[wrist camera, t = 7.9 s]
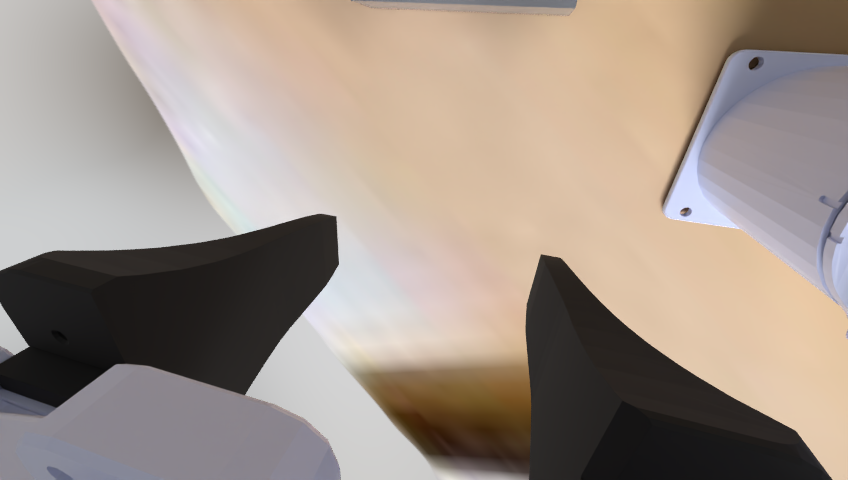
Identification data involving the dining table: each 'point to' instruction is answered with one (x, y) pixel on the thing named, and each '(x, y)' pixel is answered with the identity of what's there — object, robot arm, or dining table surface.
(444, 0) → the slate plinth
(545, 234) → the dining table surface
